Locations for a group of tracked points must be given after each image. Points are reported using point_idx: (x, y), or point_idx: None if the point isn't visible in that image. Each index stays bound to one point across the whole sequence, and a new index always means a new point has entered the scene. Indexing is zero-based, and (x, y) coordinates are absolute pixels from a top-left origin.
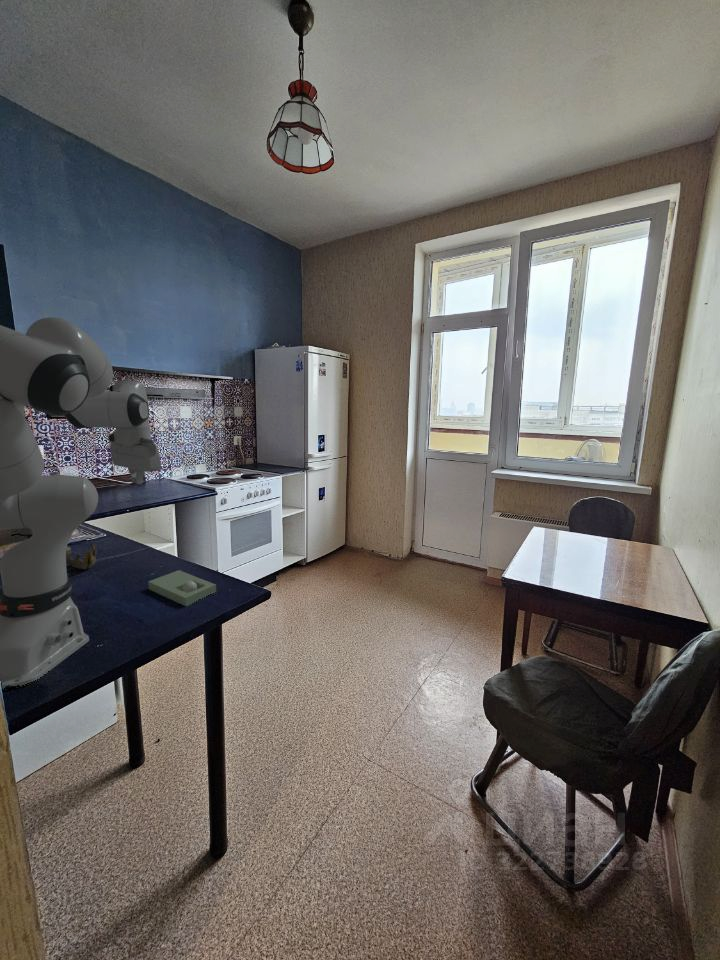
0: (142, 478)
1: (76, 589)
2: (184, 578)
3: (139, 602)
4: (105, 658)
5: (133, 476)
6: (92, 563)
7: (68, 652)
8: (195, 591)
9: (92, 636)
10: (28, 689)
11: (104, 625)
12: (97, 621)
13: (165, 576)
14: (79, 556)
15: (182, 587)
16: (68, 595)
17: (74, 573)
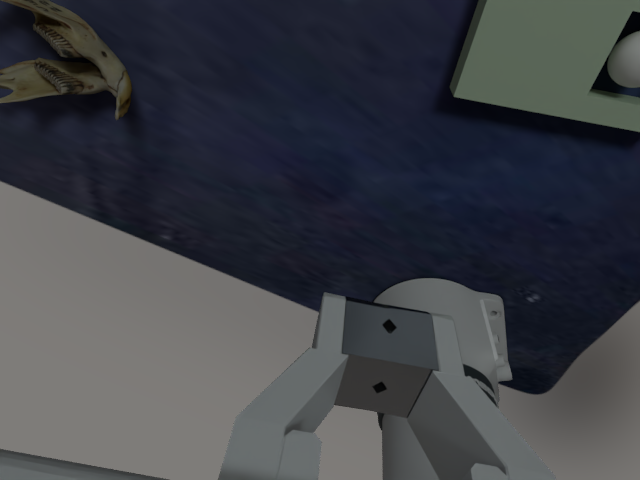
0: (461, 369)
1: (247, 171)
2: (583, 13)
3: (484, 159)
4: (575, 317)
5: (329, 407)
6: (122, 64)
7: (505, 334)
8: None
9: (492, 285)
10: None
11: (483, 256)
12: (453, 251)
13: (488, 34)
14: (73, 91)
15: (617, 82)
16: (491, 386)
17: None
